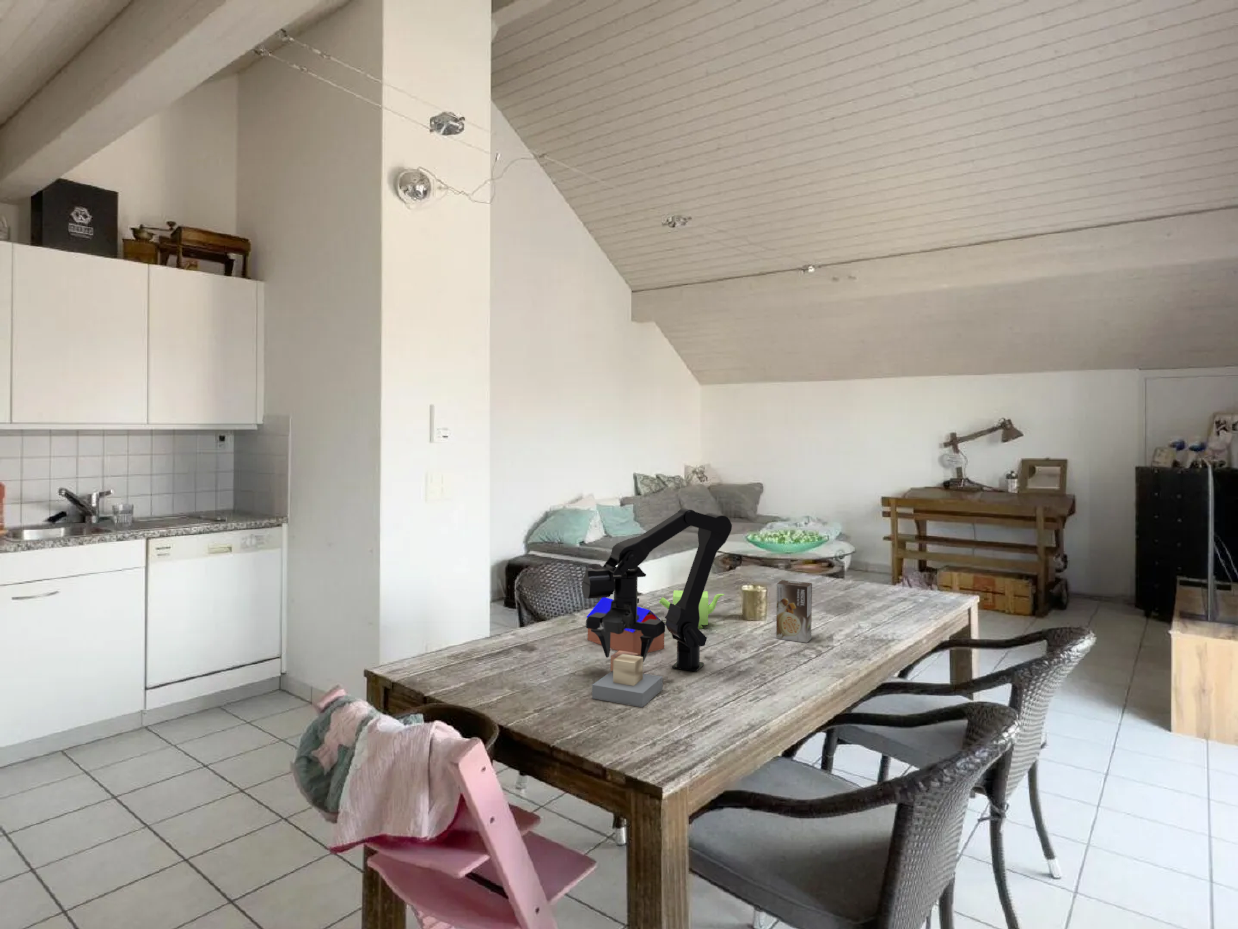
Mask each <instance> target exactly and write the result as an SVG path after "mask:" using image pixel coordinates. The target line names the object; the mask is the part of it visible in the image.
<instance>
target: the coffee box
mask: <svg viewBox="0 0 1238 929" xmlns="http://www.w3.org/2000/svg"><path fill="white" fill-rule="evenodd" d="M812 592H813V583H812V582H804V581H796V580H786V579H781V580H779V581H778V583H777V584H776V613H775V614H776V618H775V619H776V623H775V624H776V625H775V626H776V627H775V629H776V630H775V631H776V635H775V636H776V637H775V639H777V640H783V641H793V642H799V643H806V644H807V643H809V641H810V640H811V639H812V622H813V621H812V619H813V618H812V614H813V613H812V611H813V610H812V608H813V607H812V606H813V604H812V602H813V593H812Z"/></svg>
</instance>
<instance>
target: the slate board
mask: <svg viewBox="0 0 1238 929" xmlns="http://www.w3.org/2000/svg"><path fill="white" fill-rule="evenodd" d="M663 678H664V677H663V675H655V674H649V673H644V672H643V679H642V680H641V681H639V682H638V683H637V684H635V685H634V686H632V685H626V684H620V683H615V682H613V671H611V672H608V673H607V674H606V675H604V676H603V677H601V678H600V679H598V680H597V681H595V682H594V683H592V684H591V699H593V700H601V701H605V702H612V703H615V704H616V703H617V704H623V705H627V706H633V707H639V708H643V707H645V706H646V705H647V704H648V703H649V702H650V701H651V700H652V699H654V698H655V697H656V696H657V695H658V694H660V692H662V691H663V686H664V685H663V681H664V680H663Z"/></svg>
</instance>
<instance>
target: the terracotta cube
mask: <svg viewBox="0 0 1238 929" xmlns="http://www.w3.org/2000/svg"><path fill="white" fill-rule="evenodd" d="M622 654H627V655H633V656H639V655H638V653H633V652H626V651H617V652H616V651H615V653H613V654H611V655H610V672H611V671H613V660H614V659H616V658H617V657H619V656H620V655H622ZM610 672H609V673H610Z"/></svg>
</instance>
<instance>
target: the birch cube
mask: <svg viewBox="0 0 1238 929" xmlns="http://www.w3.org/2000/svg"><path fill="white" fill-rule="evenodd" d="M643 665H644V662H643V657H641V655H638V656H633V655H627V654H622V655H620V656H619V657H617V658H616V659H614V660H613V682H615V683H620V684H626V685H632V686H634V685H635V684H637V683H638V682H639V681H641V680H642V679H643V673H644V672H643V669H644V666H643Z"/></svg>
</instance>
